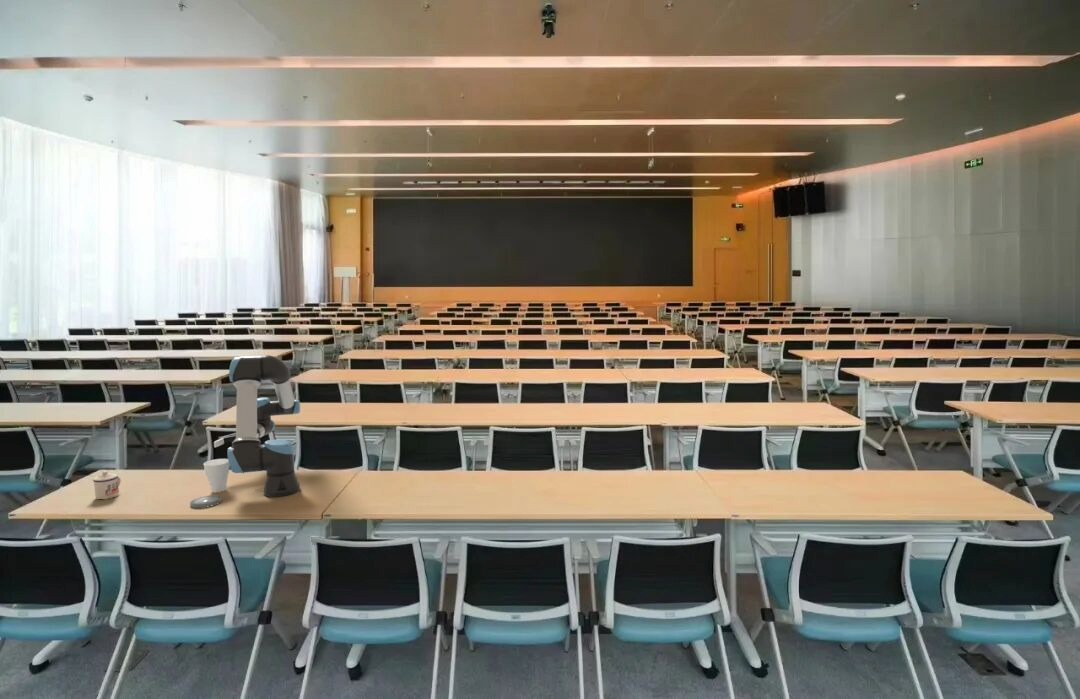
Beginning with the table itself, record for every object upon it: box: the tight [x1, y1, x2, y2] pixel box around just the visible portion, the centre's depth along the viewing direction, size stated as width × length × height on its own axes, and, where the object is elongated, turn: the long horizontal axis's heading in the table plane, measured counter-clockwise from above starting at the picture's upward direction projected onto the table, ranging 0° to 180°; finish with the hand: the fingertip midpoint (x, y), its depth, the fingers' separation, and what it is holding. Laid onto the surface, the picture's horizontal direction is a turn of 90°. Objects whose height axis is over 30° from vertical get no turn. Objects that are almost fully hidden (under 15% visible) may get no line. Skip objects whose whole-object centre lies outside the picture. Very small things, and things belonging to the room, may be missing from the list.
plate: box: [189, 495, 223, 509], centre depth 268 cm, size 12×12×1 cm
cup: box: [203, 458, 230, 493], centre depth 283 cm, size 10×10×14 cm
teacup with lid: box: [92, 470, 122, 500], centre depth 280 cm, size 12×9×12 cm
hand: (228, 444), depth 292 cm, fingers open, 13 cm apart
